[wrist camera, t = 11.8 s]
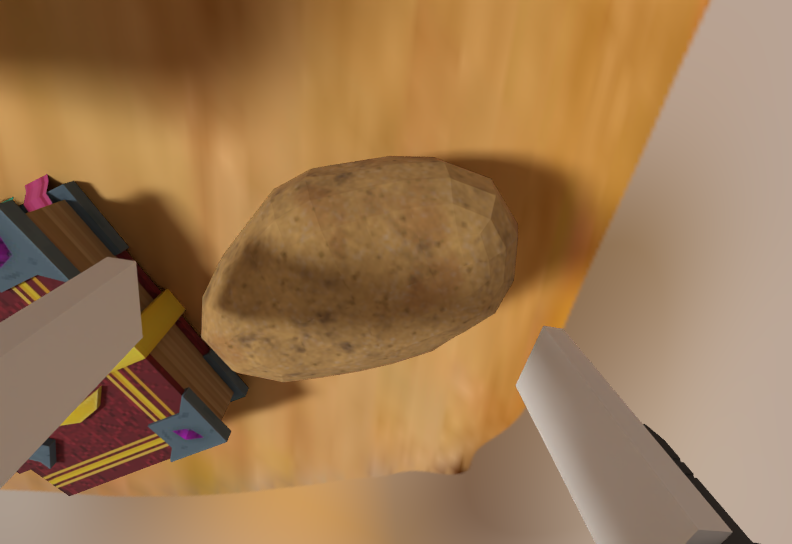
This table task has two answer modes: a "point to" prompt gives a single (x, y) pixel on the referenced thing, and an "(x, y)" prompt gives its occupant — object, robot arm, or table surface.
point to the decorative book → (136, 373)
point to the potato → (360, 269)
